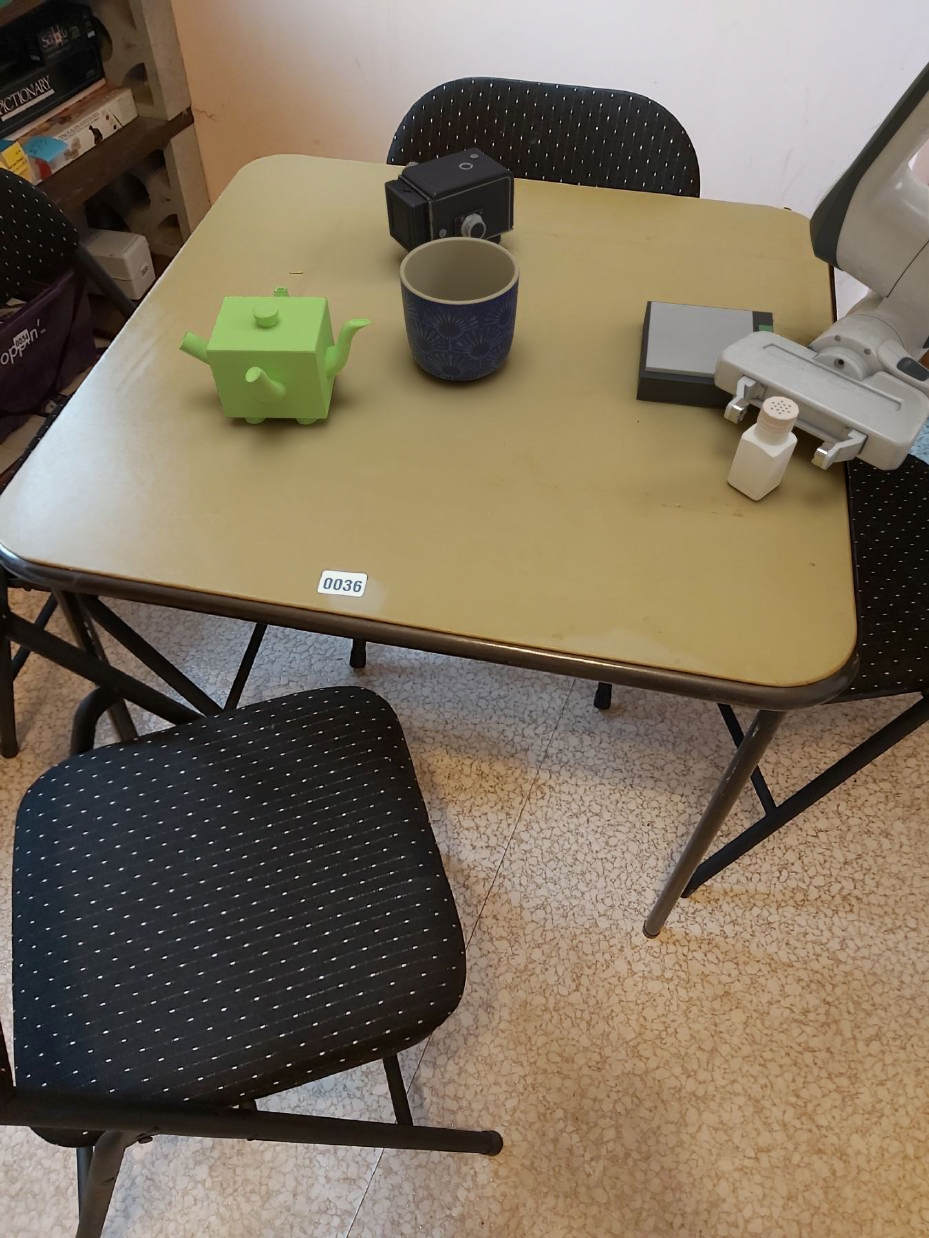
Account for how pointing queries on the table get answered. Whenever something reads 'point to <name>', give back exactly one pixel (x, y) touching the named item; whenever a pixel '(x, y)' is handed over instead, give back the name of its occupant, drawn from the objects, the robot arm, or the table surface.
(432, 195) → the camera
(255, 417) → the kettle
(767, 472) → the pepper shaker
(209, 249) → the table surface
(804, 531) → the table surface
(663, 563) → the table surface
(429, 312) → the planter
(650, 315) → the scale
